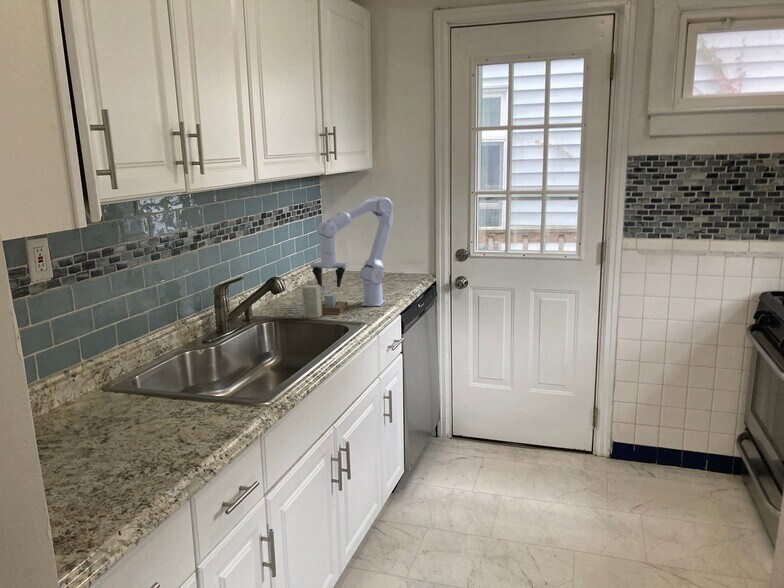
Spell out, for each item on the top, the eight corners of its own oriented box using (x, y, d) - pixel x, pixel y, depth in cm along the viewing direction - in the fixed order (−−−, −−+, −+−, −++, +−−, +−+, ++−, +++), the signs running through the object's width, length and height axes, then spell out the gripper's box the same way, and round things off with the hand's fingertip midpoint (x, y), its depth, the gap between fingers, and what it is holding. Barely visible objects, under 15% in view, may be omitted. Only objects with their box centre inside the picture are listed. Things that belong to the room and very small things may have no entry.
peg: (327, 308, 259) (327, 294, 258) (336, 308, 258) (335, 294, 257) (325, 310, 256) (324, 295, 254) (333, 310, 255) (332, 296, 254)
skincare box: (322, 315, 250) (320, 284, 247) (318, 318, 245) (316, 287, 243) (307, 314, 251) (305, 284, 249) (302, 317, 247) (301, 286, 245)
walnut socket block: (322, 307, 263) (321, 301, 263) (347, 307, 261) (347, 301, 260) (312, 313, 253) (312, 307, 252) (339, 314, 251) (339, 308, 250)
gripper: (306, 253, 250) (308, 288, 253) (342, 254, 247) (344, 288, 250) (313, 251, 257) (314, 284, 259) (347, 251, 253) (349, 285, 256)
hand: (329, 286), depth 255 cm, fingers open, 7 cm apart
